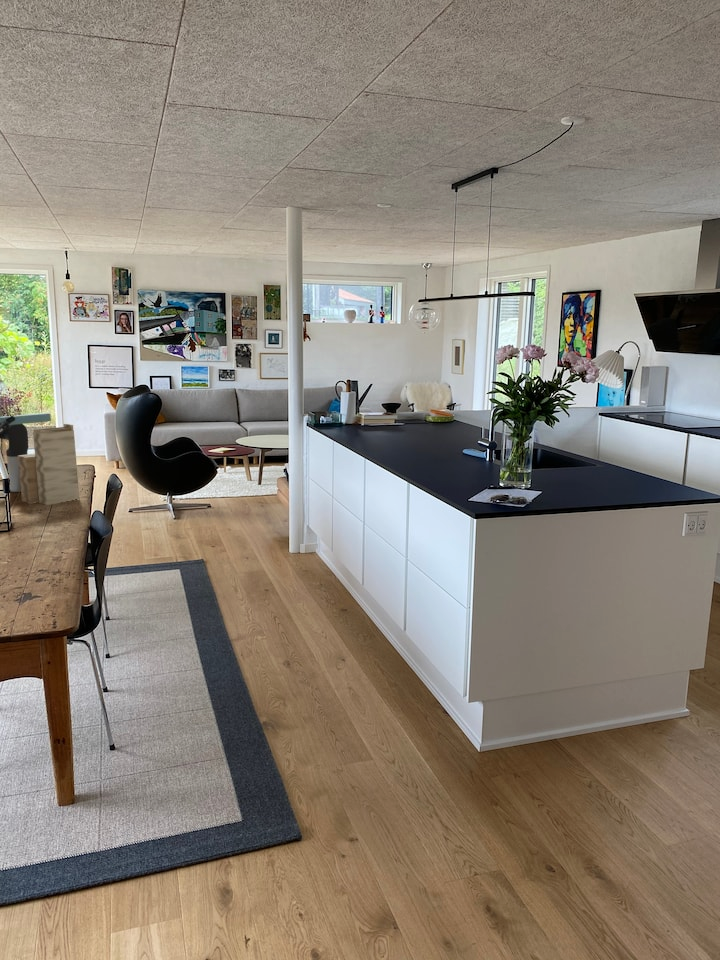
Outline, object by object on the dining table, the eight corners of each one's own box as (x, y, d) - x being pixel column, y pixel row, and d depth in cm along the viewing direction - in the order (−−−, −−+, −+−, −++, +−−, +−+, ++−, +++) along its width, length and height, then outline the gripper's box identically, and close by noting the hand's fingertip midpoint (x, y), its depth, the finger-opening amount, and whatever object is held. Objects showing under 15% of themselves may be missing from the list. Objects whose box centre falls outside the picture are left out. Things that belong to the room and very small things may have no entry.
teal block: (-2, 425, 321) (-3, 417, 320) (47, 420, 337) (46, 412, 336) (1, 425, 318) (1, 417, 318) (51, 421, 335) (50, 413, 334)
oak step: (22, 500, 335) (17, 455, 331) (51, 495, 345) (47, 451, 341) (30, 503, 330) (25, 457, 326) (60, 498, 340) (56, 453, 336)
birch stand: (39, 502, 332) (32, 426, 325) (70, 496, 343) (64, 423, 336) (47, 505, 327) (40, 428, 320) (79, 499, 338) (73, 425, 331)
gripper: (-20, 434, 307) (14, 411, 316) (-34, 431, 316) (-1, 408, 325) (-10, 448, 311) (24, 425, 320) (-23, 445, 320) (9, 422, 330)
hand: (11, 417), depth 323 cm, fingers closed on teal block, 3 cm apart
